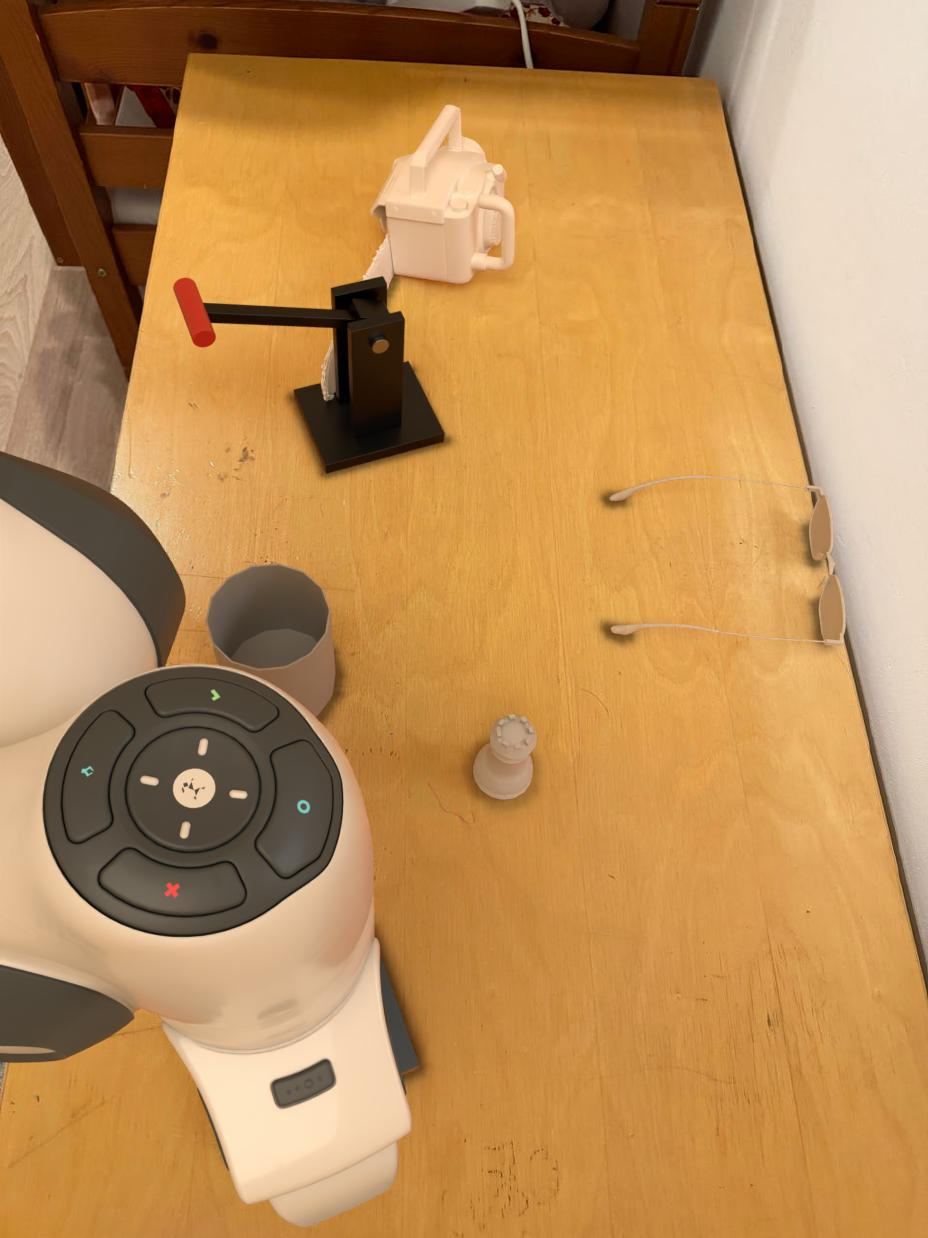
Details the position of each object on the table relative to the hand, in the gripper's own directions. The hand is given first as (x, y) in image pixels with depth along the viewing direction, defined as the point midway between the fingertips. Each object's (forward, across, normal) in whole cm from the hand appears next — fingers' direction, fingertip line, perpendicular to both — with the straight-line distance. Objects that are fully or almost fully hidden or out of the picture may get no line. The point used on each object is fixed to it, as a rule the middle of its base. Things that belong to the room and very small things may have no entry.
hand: (285, 991), depth 50 cm
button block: (+17, 0, 0) cm, 17 cm away
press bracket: (+17, -47, +21) cm, 54 cm away
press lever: (+4, -47, +14) cm, 49 cm away
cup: (+17, -25, +6) cm, 31 cm away
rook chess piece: (+17, -12, +19) cm, 28 cm away
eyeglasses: (+17, -22, +43) cm, 51 cm away
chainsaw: (+17, -60, +32) cm, 70 cm away
